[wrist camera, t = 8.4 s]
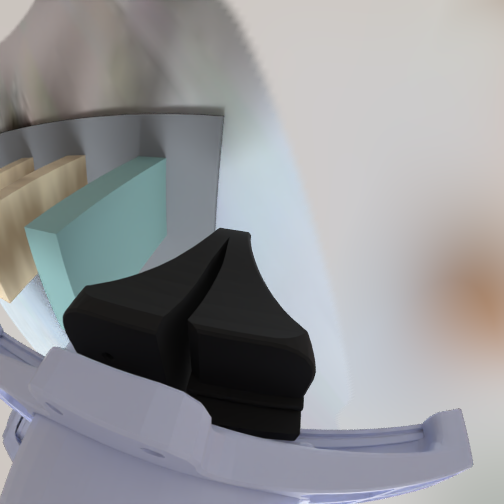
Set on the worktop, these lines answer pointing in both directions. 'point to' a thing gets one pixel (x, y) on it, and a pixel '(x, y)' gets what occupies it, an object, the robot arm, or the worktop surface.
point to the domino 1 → (15, 171)
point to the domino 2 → (31, 216)
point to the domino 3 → (100, 231)
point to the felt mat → (131, 146)
